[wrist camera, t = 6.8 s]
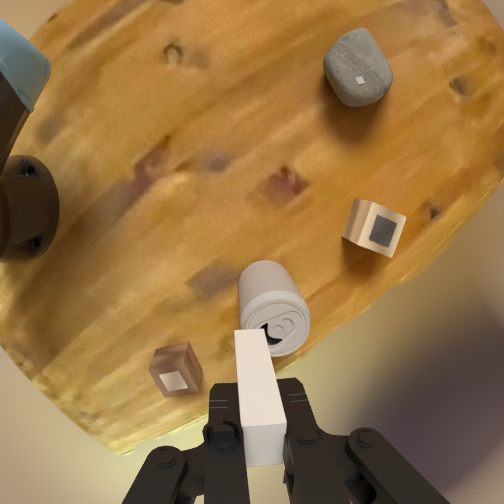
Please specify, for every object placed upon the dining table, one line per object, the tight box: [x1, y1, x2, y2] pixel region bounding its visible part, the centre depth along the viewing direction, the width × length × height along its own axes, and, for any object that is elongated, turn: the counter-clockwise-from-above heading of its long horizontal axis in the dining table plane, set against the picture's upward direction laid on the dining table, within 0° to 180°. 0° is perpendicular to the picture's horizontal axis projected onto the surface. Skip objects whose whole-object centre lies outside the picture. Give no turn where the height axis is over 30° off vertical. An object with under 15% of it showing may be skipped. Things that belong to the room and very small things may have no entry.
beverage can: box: [238, 260, 311, 357], centre depth 30 cm, size 6×6×12 cm
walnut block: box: [148, 341, 202, 398], centre depth 36 cm, size 5×5×5 cm
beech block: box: [342, 198, 406, 258], centre depth 33 cm, size 5×5×5 cm
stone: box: [323, 28, 393, 107], centre depth 28 cm, size 9×9×10 cm
